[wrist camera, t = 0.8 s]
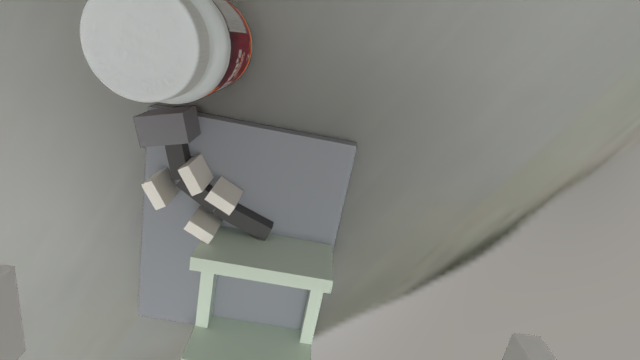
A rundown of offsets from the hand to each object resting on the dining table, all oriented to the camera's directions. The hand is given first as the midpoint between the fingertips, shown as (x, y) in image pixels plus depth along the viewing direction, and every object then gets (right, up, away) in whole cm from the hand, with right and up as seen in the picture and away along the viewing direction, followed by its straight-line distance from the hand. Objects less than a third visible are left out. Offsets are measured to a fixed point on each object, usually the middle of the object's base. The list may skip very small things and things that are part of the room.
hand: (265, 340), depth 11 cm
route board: (-5, 0, +22) cm, 22 cm away
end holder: (-3, -4, +22) cm, 23 cm away
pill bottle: (-6, +14, +17) cm, 23 cm away
